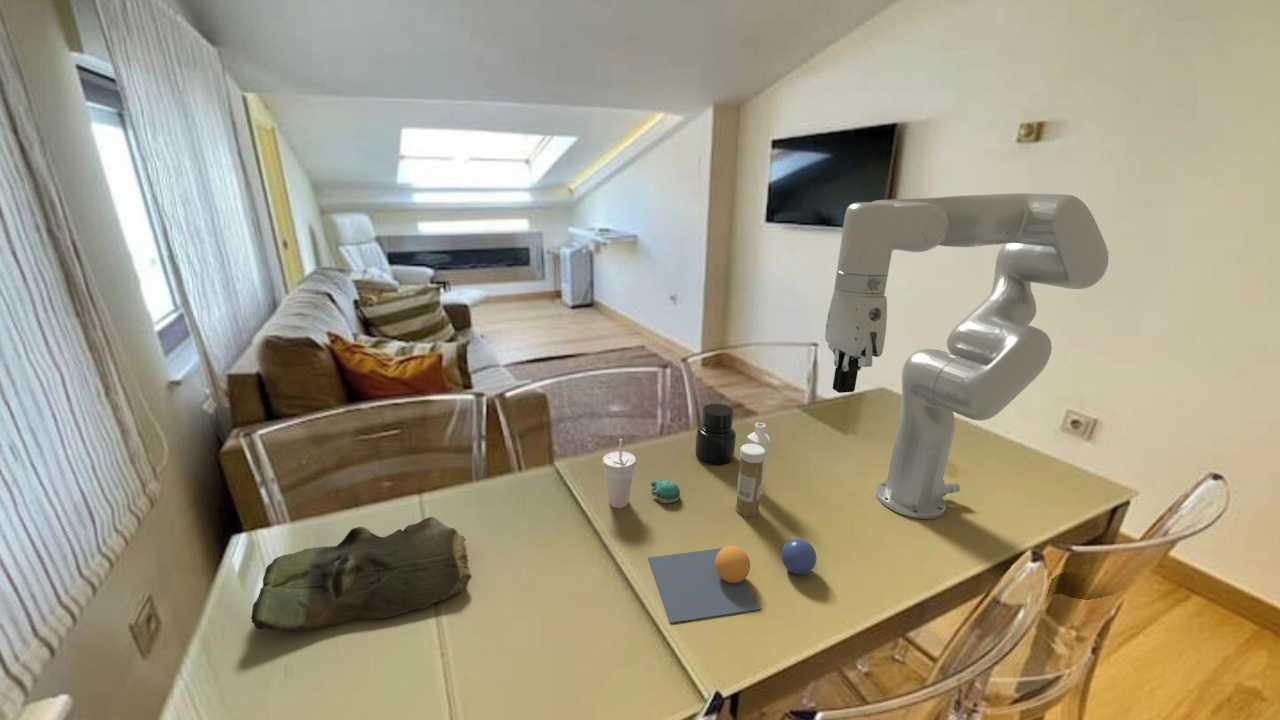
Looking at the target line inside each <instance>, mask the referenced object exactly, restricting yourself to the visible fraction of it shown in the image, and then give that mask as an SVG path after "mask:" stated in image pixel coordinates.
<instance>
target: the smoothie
mask: <svg viewBox="0 0 1280 720" xmlns="http://www.w3.org/2000/svg"><path fill="white" fill-rule="evenodd" d="M618 440H619V442H618V446H619V447H618V450H617V451H610V452H608V453H606V454H604V455H603V457H602V466H603V467H604V474H605V481H606V488H607V494H608V495H607V497H608V501H609V505H610V506H611V507H612V508H617V509H620V508H625V507H626V506H627V505H628V504H629V499H630V495H631V494H630V492H631V486H632V480H633V474H634V468H635V467H636V465H637V462H636V461H637V459H636V456H635V455H633V453H630V452H629V451H624V450H623V439H622V438H619V439H618Z"/></svg>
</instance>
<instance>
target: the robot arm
mask: <svg viewBox="0 0 1280 720" xmlns="http://www.w3.org/2000/svg"><path fill="white" fill-rule="evenodd" d="M841 233H842V234H841V241H840V247H839V253H838V254H839V255H838V261H837V266H836V267H837V268H836V277H835V283H834V289H833V293H832V297H831V301H830V305H829V308H828V309H829V310H828V313H827V317H826V318H827V319H826V325H825V332H824V333H825V334H824V337H825V338H824V340H825V341H826V343H827V344H828V349H829V350H830V351H831V352H832V353H833V356H834V357H833V358H834V359H833V365H834V367H835V368H834V374H833V382H832V383H833V384H832V390H834V391H836V392H837V393H841V394H842V393H853V392H855V390H856V384H857V378H858V372H859V371H861V369H862V368H869V367H872V366H873V357H876V358H878V357H881V356H882V354H883V351H884V347H885V339H886V332H887V321H888V301H887V298H888V297H887V296H885V294H886V287H887V282H888V276H889V271H890V270H889V269H890V266H891V261H892V255H893V251H896V250H897V251H903V252H909V253H924V252H928V251H930V250H932V249H934V248H936V247H938V246H942V247H952V248H975V247H984V246H993V245H1001V247H1000V249H999V251H998V253H997V255H996V260H995V268H994V269H995V270H994V277H993V283H992V289H991V291H990V293H989V295H988V296H987V297H986V298H985V299H984V300H983V301H982V302H980V304H979V305H978V306H977V307H975V308H974V309H973V311H971V312H970V313H968V315H967V316H965V318H964V319H963V320H961V321H960V323H958V324H957V325H956V326H955V327H954V328H953V329H952V330H951V332H950V333H949V335H948V337H947V340H946V347H947V350H948V351H949V352H947V351H945V350H944V351H943V350H940V349H933V348H926V349H925V348H924V349H920V350H917V351H915V352H914V353H912V354H911V355H910V356H909V357H908V358H907V359H906V361H905V363H904V365H903V366H902V367H903V368H902V373H901V392H902V394H901V397H902V398H901V406H900V412H899V419H898V422H897V423H898V424H897V429H896V434H895V438H894V443H893V449H892V452H891V453H892V454H891V459H890V464H889V467H888V473H887V477H886V480H884V481H882V482H880V483H879V484H878V485H877V486H876V490H875V494H876V497H877V499H878V500H879V501H880V503H882V504H883V505H884V506H885V507H887V508H888V509H890V510H892V511H893V512H896V513H899V514H900V515H903V516H906V517H910V518H914V519H920V520H923V519H924V520H930V519H931V520H932V519H937V518H939V517H942V516H943V515H944V514H945V512H946V509H947V503H946V501H945V499H944V496H946V495H947V494H956V493H959V492H960V491H961V487H960V485H959V483H957V482H951V483H945V480H944V476H945V472H946V469H947V464H948V461H949V454H950V451H951V447H952V443H953V439H954V436H955V432H956V419H955V415H954V413H955V414H957V415H960V416H963V417H964V418H968V419H970V420H973V421H981V422H982V421H987V420H990V419H992V418H994V417H996V415H998V414H999V413H1001V412H1002V411H1003V410H1004V409H1005V408H1006V407H1007V406H1008V405H1009V404H1010V403H1011V402H1012V401H1013V400H1014V399H1016V397H1018V396H1019V395H1020V394H1021V393H1022V392H1023V391H1024V390H1025V389H1026V388H1027V387H1028V386H1029V385H1030V384H1031V383H1033V381H1035V380H1036V379H1037V377H1039V375H1041V373H1042V372H1043V370H1044V369H1045V367H1046V366H1047V364H1048V362H1049V360H1050V357H1051V354H1052V351H1053V349H1052V348H1053V347H1052V340H1051V339H1050V338H1051V337H1049V335H1048V334H1047V333H1046V332H1045V331H1043V330H1042V329H1040V328H1038V327H1036V326H1032V325H1030V324H1031V323H1032V322H1033V320H1034V319H1035V317H1036V314H1037V304H1036V299H1035V296H1034V295H1033V292H1032V291H1033V290H1032V285H1031V284H1032V283H1033V284H1034V283H1035V284H1041V285H1047V286H1053V287H1060V288H1064V289H1070V290H1084V289H1087V288H1091V287H1092V286H1094V285H1096V284H1097V283H1099V282H1100V281H1101V279H1102V278H1103V277H1104V275H1105V274H1106V271H1107V269H1108V266H1109V250H1108V247H1107V244H1106V242H1105V240H1104V238H1103V235H1102V232H1101V231H1100V228H1099V225H1098V223H1097V221H1096V220H1095V217H1094V215H1093V214H1092V211H1091V210H1090V209H1089V207H1088V206H1087V205H1086V203H1084V201H1082V200H1081V199H1080V198H1079V197H1078V196H1075V195H1071V194H1061V193H1060V194H1055V193H1048V194H1047V193H1023V192H1022V193H1021V192H1019V193H1015V192H1014V193H998V194H996V193H995V194H973V195H972V194H970V195H954V196H953V195H952V196H942V197H940V196H938V197H925V198H898V199H897V198H895V199H878V200H873V201H871V202H869V201H868V202H867V201H866V202H864V201H863V202H861V201H860V202H858V201H857V202H853V203H851V204H849V206H848V207H847V208H846V210H845V214H844V220H843V227H842V232H841Z"/></svg>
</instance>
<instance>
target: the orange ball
mask: <svg viewBox="0 0 1280 720" xmlns="http://www.w3.org/2000/svg"><path fill="white" fill-rule="evenodd" d="M722 548H723V549H721V550H720V551H719V553H718V554H717V556H716V559H715V567H716V571H717V573H718V575H719V576H720V577H721V578H722V579H723V580H725V581H727V582H729V583H738V582H741V581H743V580H744V579H745V580H746V578H747V577H748V575H749V574H750V570H751V560H750V557H749V555H748V554H747V552H746V551H744V550H743V548H741V547H738V546H736V545H728V546H725V547H722Z"/></svg>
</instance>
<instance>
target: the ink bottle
mask: <svg viewBox="0 0 1280 720" xmlns="http://www.w3.org/2000/svg"><path fill="white" fill-rule="evenodd" d="M733 418H734V409H733V408H732V407H731V406H728V405H726V404H722V403H710V404H706V405H705V406H703V408H702V420H701V421H702V422H701V423H702V424H701V425H699V427H698V428H697V429H696V438H695V457H696V458H697V460H698V461H700V462H701V463H703V464H705V465H710V466H726V465H729V464H731V463H732V462H733V461H734V458H735V450H736V439H737V434H736V431H735V430H734V428H733V427H732V426H733Z"/></svg>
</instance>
